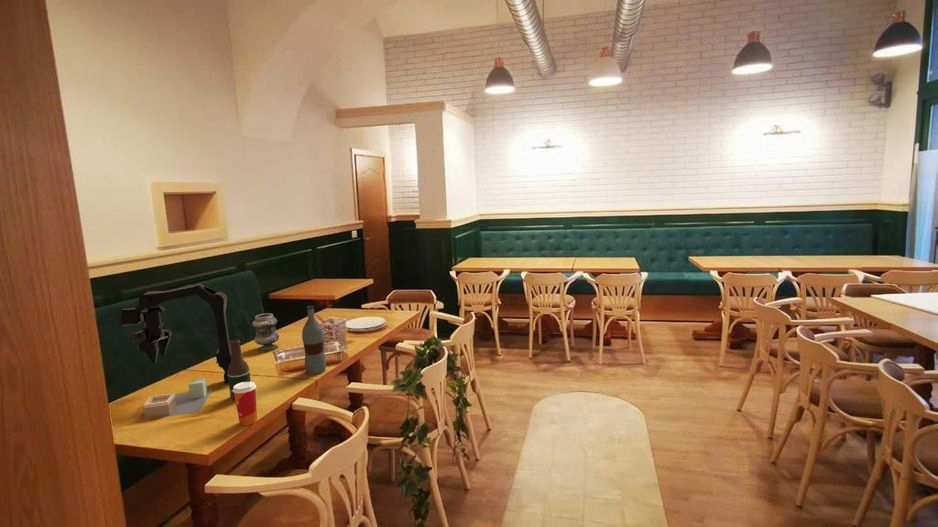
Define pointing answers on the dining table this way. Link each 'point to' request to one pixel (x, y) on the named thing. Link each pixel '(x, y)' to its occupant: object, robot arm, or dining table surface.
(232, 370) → the beer bottle
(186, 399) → the board
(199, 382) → the green block
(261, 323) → the apothecary jar
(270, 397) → the dining table surface
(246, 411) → the paper cup
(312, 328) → the vodka
